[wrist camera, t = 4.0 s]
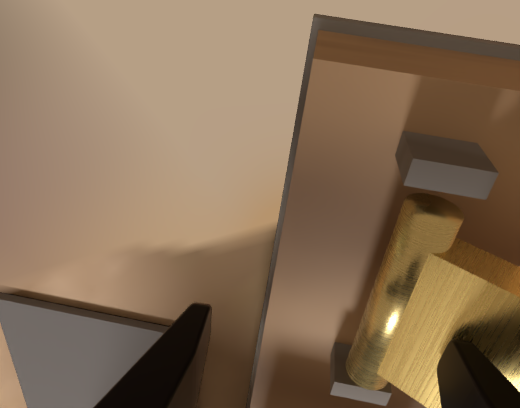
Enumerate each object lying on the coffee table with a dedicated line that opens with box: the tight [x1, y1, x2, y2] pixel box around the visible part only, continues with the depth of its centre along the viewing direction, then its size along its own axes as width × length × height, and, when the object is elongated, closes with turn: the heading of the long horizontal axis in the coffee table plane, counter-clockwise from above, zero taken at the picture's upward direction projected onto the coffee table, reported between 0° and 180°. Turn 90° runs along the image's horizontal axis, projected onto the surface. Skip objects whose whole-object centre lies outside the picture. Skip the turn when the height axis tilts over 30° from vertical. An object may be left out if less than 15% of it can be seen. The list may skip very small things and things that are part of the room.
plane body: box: [246, 14, 520, 408], centre depth 15 cm, size 23×6×5 cm, turn 173°
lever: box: [346, 193, 520, 408], centre depth 9 cm, size 5×1×6 cm
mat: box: [0, 292, 169, 408], centre depth 23 cm, size 10×10×1 cm
